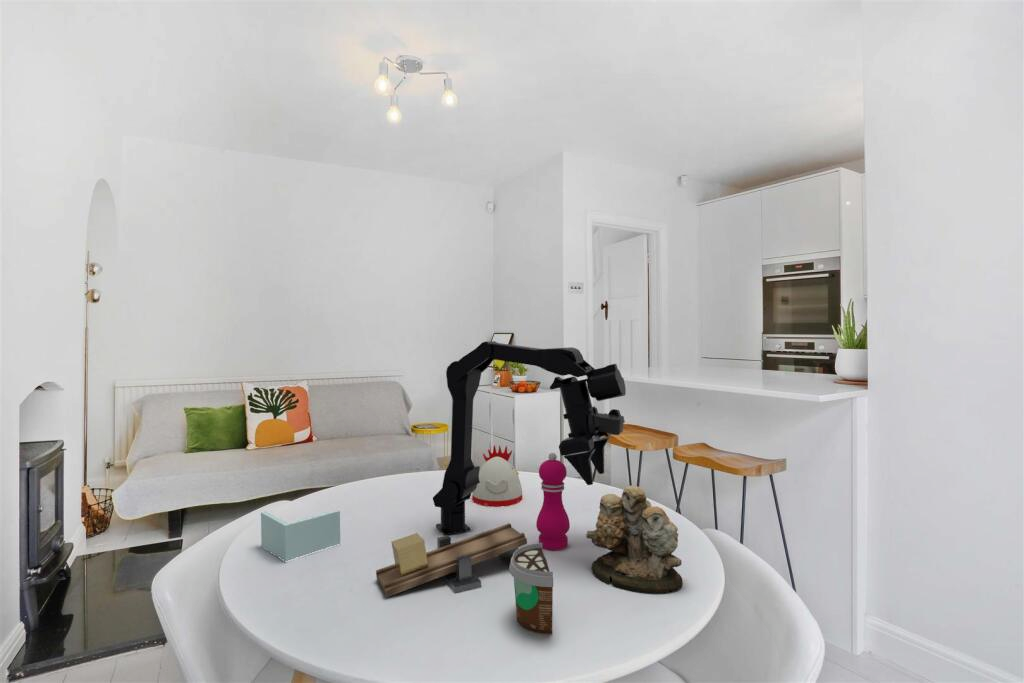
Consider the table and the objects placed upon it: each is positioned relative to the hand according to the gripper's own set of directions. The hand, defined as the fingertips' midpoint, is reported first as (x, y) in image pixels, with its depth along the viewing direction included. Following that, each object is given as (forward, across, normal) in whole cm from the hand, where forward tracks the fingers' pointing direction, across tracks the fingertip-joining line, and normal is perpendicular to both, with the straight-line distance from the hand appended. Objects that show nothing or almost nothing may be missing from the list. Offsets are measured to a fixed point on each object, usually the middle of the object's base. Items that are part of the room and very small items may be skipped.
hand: (596, 479), depth 111 cm
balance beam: (+6, -20, +25) cm, 33 cm away
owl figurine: (+18, -8, -5) cm, 20 cm away
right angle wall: (0, -21, +62) cm, 66 cm away
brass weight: (+6, -26, +30) cm, 40 cm away
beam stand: (+10, -15, +22) cm, 29 cm away
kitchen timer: (+7, +25, +38) cm, 46 cm away
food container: (+14, -30, +7) cm, 34 cm away
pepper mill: (+13, 0, +13) cm, 18 cm away
